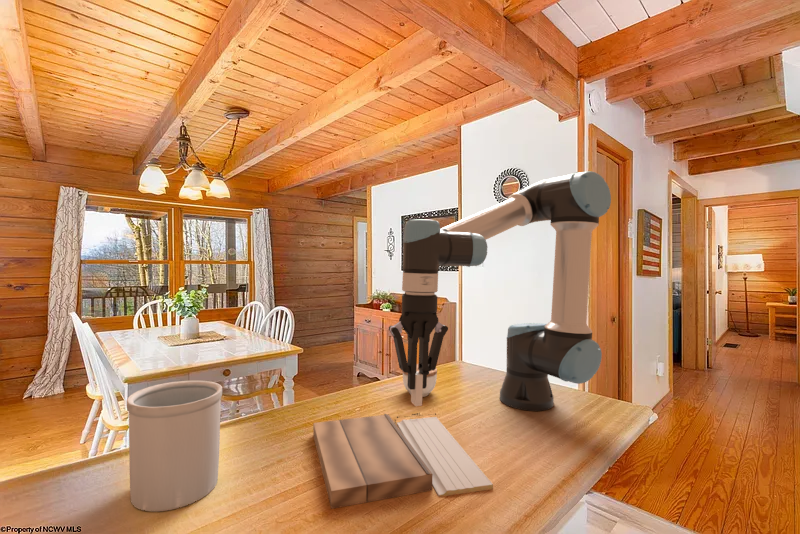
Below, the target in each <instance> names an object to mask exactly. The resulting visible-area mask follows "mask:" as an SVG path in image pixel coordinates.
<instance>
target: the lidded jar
mask: <svg viewBox="0 0 800 534" xmlns="http://www.w3.org/2000/svg"><path fill="white" fill-rule="evenodd" d="M418 368H419V362H417V369H416V371H419V369H418ZM437 376H438V369H437V367H436V369H435V370H433V371H432V370H431V371H429V374H428V375H427V385H426V388H423V390H422V398H423V397H424V398H426V397H428V396H429V395H430V394H431V392H432V391H434V389H435V387H436V384H437ZM402 382H403V385H404V388H405V390H406V391H407V392H408V393H409V395H410V396H411V390H410V389H409V388H408V373H406V372H403V371H402Z"/></svg>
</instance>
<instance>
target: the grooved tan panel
mask: <svg viewBox="0 0 800 534" xmlns="http://www.w3.org/2000/svg"><path fill="white" fill-rule="evenodd" d="M313 439H314V445H315V447H316V451H317V456H318V459H319V464H320V468H321V472H322V476H323V480H324V484H325V490H326V492H327V497H328V501H329V505H330V509H336V508H342V507H348V506H354V505H358V504H364V503H370V502H374V501H375V502H376V501H380V500H386V499H390V498H392V499H393V498H397V497H400V496H401V497H402V496H407V495H412V494H417V493H418V494H419V493H423V492H430V491H433V486H432V475H433V474H432V472H431V471H430V470H429V468H428V467H427V466H426V464H425V463H424V462H423V460H422V459H421V458H420V456H419V455H418V454H417V452H416V451H415V450H414V448H413V447H412V445H411V444H410V443H409V441H408V440H407V439H406V437H405V436H404V435H403V433H402V432H401V431H400V429H399V427H398V425H397V423H396V424H395V420H393V419H392V417H391V415H390V414H387V413H384V414H381V415H379V414H378V415H373V416H362V417H356V418H355V417H354V418H346V419H338V420H337V419H335V420H329V421H320V422H313Z"/></svg>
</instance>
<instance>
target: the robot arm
mask: <svg viewBox="0 0 800 534" xmlns="http://www.w3.org/2000/svg"><path fill="white" fill-rule="evenodd" d="M611 203H612V196H611V190H610V188H609V184H608V183H607V182H606V180H605V178H604V177H603V176H602V175H601V174H599V173H597V172H596V171H590V170H588V171H581V172H580V171H576V172H574V173H573V172H572V173H570V174H569V173H568V174H567V175H566V174H565V175H562V176H557V177H551V178H545V179H542V180H540V181H538V182H535V183H533V184H530V185H529V186H526V187H525V188H523V189H520V190H518V191H517V192H514V193H512V194H510V195H509V196H507V199H506V200H504V201H503V202H499V203H498V204H495V205H493V206H491V207H489V208H486V209H484V210H481V211H478V212H476V213H475V214H472V215H469V216H467V217H465V218H462V219H460V220H458V221H455V222H452V223H451V224H449V225H446V226H443V227H442V228H441V226H440V222H439V221H438V220H434V219H422V218H421V219H410V220H407V221H406V222H405V224H404V229H403V239H402V243H403V244H402V245H403V256H402V257H403V259H402V284H401V290H402V292H404V293H402V295H401V314H400V317H399V320H398V322H397V323H395V324H393V325H389V327H388V331H389V332H390V334H391V336H392V337H393V342H394V346H395V352H396V357H397V358H396V359H397V363H398V366H399V369H400V370H401V371H402V373H403V372H406V373H408V388H409V389H410V390H411V395H410V402H411V404H413V405H414V406H415V407H420V406H423V397H422V390H423V388H426V385H427V375H428V374H429V371H431V370H432V371H433V370H435V369H436V368H437V363H438V361H439V357H440V352H441V348H442V344H443V341H444V336H445V335H446V334H447V332H448V330H449V327H448V326H447V325H444V324H442V322H440V321H439V317H438V315H437V314H438V313H437V312H438V296H437V294H436V293H437V292H438V289H439V286H438V285H439V269H440V268H439V266H441V267H442V266H449V267H450V266H451V267H452V266H454V267H467V268H470V267H477V266H480V265H482V264H483V263H484V261H485V260H486V259H487V255H488V242H487V241H486V240H488V239H491V238H493V237H495V236H497V235H499V234H501V233H504V232H505V231H508V230H510V229H512V228H515V227H517V226H519V227H524V226H526V225H529V224H533V223H536V222H543V221H544V222H545V221H550V226H551V227H552V228H553V230H555V243H554V244H555V245H554V246H555V247H554V260H553V261H554V264H553V281H552V297H551V298H552V300H551V318H550V321H549V322H548V323H541V322H537V323H535V322H533V323H532V322H529V323H528V322H527V323H513V324H511V325H509V327H508V328H507V334H506V373H505V375H504V376H505V377H504V379H503V382H502V385H501V388H500V390H499V400H500V401H501V402H502V403H503V404H504V405H506V406H508V407H511V408H514V409H517V410H523V411H529V412H530V411H533V412H535V411H537V412H539V411H541V412H542V411H546V410H549V409H552V408H553V407H554V405H555V404H554V402H555V401H554V399H555V397H554V394H553V390H552V388H551V387H552V386H551V384H550V380H549V377H548V376H551V377H554V378H557V379H559V380H561V381H563V382H569V383H573V384H577V385H578V384H584V383H586V382H589V381H591V379H593V377H594V375H596V374H597V372H598V370H599V369H600V366H601V362H602V359H603V357H602V356H603V355H602V354H603V353H602V348H601V347H600V345H599V343H598V342H597V341H595V340H594V339H593V330H592V329H591V327H589V325H588V324H587V318H588V317H587V316H588V301H589V299H588V298H589V285H590V284H589V283H590V270H591V269H590V267H591V266H590V265H591V252H592V251H591V249H592V235H593V234H592V233H593V231H594V230H595V229H596V228H597V227H599V225H600V224H599V222H600V218H601V217H603V216H605V214H606V213H608V210H609V209H610V207H611ZM402 329H403V330H404V332H405V333H406V334H407V354H406V350H405V344H404V341H403V337H402V333H403V330H402ZM433 331H434V333H433V336H432V341H431V344H430V345H429V343H430V339H431V337H430V336H431V334H432V332H433ZM429 346H430V348H429ZM406 355H407V356H406ZM417 360H418V361H417ZM418 363H419V368H418V369H419V371H416V369H417V364H418Z"/></svg>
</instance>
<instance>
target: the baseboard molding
mask: <svg viewBox="0 0 800 534" xmlns="http://www.w3.org/2000/svg"><path fill="white" fill-rule="evenodd" d="M431 415H432V416H433V415H434V416H433V417H422V414H421V413H420V412H416V413H412V416H418V417H419V416H421V418H413V419H412V418H410V419H402V420H401V421H400V422H399V421H398V422H396V421H397V419H398V418H399V416H396V418H397V419H394V423H395V424H396V425H397V427H398V428H399V429H400V431H401V432H402V433H403V435H404V436H405V437H406V439H407V440H408V441H409V443H410V444H411V445H412V447H413V448H414V450H415V451H416V452H417V454H418V455H419V456H420V458H421V459H422V460H423V462H424V463H425V464H426V466H427V467H428V468H429V470H430V471H431V472H432V474H433V475H432V489H434V490H435V492H436V494H437V496H438V498H439V497H445V496H454V495H461V494H467V493H468V494H469V493H475V492H480V491H481V492H482V491H488V490H493V488H494V483H493V482H492V481H491V480H490V479H489V477H488V476H487V475H485V473H484V472H483V471H482V469H480V467H479V466H478V465H477V464H476V462H475V461H474V460H473V459H472V458H471V457H470V455H469V454H468V453H467V452H466V451H465V449H464V448H463V447H462V446H461V444H460V443H459V442H458V441H457V440H456V439H455V438H454V436H453V435H452V434H451V432H449V430H448V429H447V428H446V427H445V425H444V424H443V423H442V422H441V420H439V418H438V417H437V416H436V415H437V413H436V412H435V413H433V414H429V416H431ZM408 417H410V415H409V416H405V418H408Z"/></svg>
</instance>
